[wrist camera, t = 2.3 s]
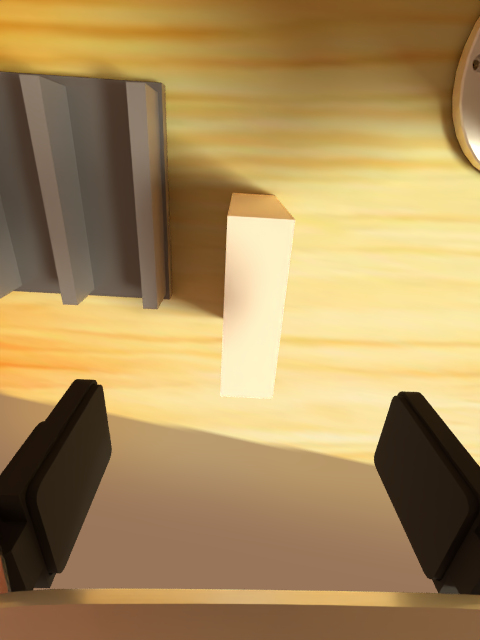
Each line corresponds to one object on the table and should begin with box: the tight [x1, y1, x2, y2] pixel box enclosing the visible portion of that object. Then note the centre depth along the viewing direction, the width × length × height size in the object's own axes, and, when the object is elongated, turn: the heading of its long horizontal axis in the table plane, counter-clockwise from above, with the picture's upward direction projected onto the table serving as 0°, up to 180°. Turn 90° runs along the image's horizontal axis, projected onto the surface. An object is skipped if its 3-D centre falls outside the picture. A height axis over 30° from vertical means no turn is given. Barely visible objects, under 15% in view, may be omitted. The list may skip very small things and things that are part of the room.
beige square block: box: [220, 193, 295, 399], centre depth 21 cm, size 3×10×10 cm, turn 177°
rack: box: [0, 72, 172, 309], centre depth 22 cm, size 18×14×4 cm
